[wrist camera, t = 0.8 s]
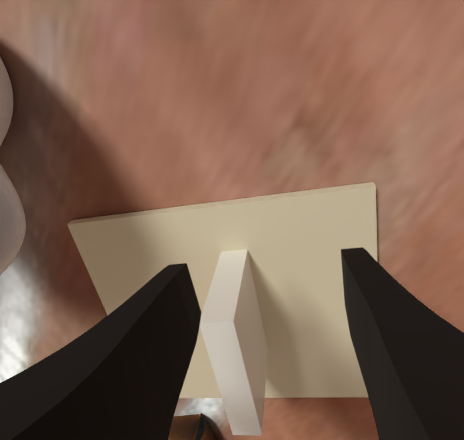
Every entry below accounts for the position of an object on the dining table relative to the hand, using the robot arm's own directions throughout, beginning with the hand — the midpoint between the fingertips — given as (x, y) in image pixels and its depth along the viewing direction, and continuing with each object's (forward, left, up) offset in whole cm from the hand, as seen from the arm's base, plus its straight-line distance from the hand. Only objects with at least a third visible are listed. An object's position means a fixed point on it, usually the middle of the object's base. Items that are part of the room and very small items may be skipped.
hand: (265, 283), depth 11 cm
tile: (+3, +8, -9) cm, 12 cm away
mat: (+4, +9, -9) cm, 14 cm away
